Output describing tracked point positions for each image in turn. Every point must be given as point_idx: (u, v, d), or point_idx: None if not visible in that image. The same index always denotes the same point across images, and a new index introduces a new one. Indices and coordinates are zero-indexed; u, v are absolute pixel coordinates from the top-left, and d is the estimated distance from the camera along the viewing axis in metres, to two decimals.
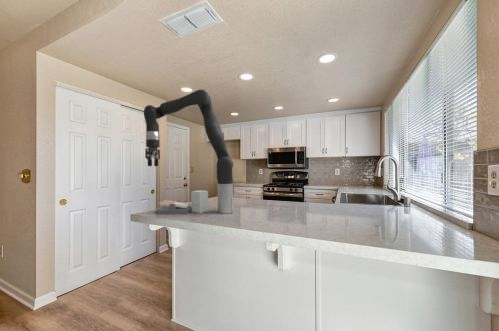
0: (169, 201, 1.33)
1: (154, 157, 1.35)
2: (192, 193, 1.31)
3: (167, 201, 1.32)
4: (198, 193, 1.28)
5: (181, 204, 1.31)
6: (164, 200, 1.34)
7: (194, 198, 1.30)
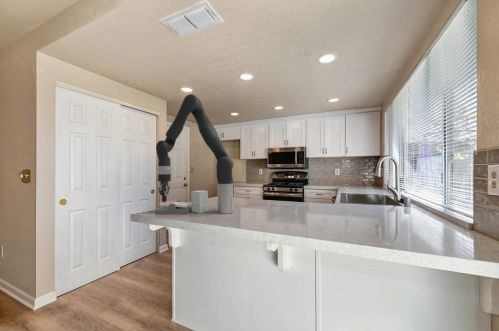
0: (169, 201, 1.33)
1: None
2: (192, 193, 1.31)
3: (167, 201, 1.32)
4: (198, 193, 1.28)
5: (181, 204, 1.31)
6: None
7: (194, 198, 1.30)
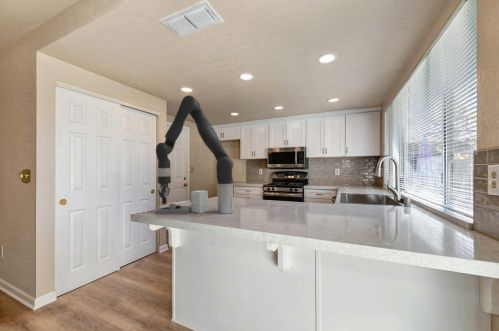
0: (169, 203, 1.33)
1: None
2: (192, 193, 1.31)
3: (167, 203, 1.32)
4: (198, 193, 1.28)
5: (181, 202, 1.31)
6: (164, 204, 1.34)
7: (194, 198, 1.30)
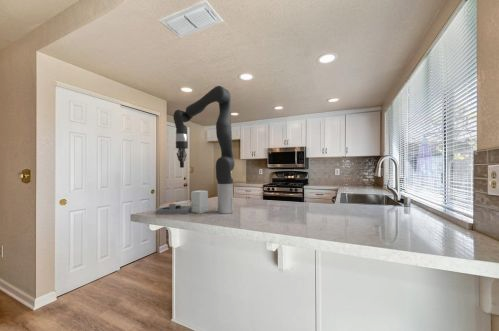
0: (169, 203, 1.33)
1: (181, 158, 1.43)
2: (192, 193, 1.31)
3: (167, 203, 1.32)
4: (198, 193, 1.28)
5: (181, 202, 1.31)
6: (164, 204, 1.34)
7: (194, 198, 1.30)
